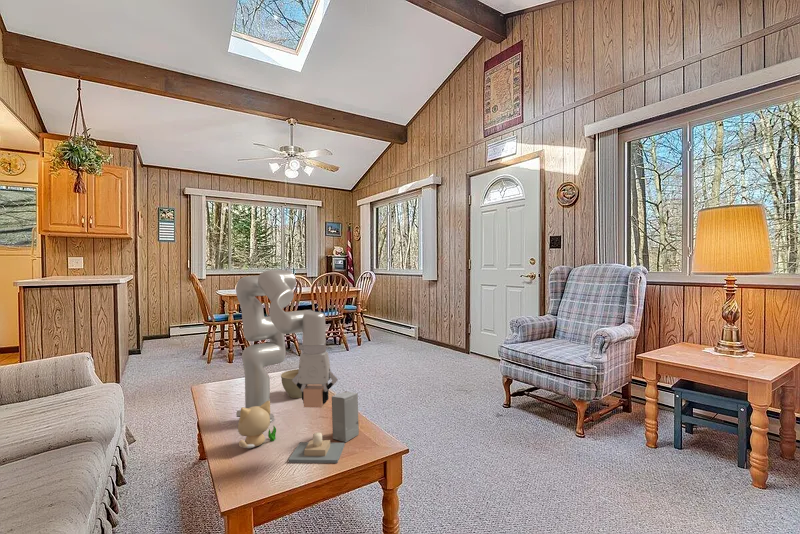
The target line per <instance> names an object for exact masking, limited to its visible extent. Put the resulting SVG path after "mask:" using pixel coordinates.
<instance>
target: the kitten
mask: <svg viewBox="0 0 800 534" xmlns="http://www.w3.org/2000/svg"><path fill="white" fill-rule="evenodd" d="M240 410H241V412H240V417H238V423H237V432H238V434H239V435H240V436H242V437H245V440H244V439H241V440H239V442H238V446H239V447H240V448H244V449H252V448H255V447H259V446H261V445H262V444H264V443H265V441H266V437H265V435H264V432H265V431H267V430H268V435H267V437H268V439H269V440H270V441H269V442H274V441H276V433H277V429H276V426H275V425H274V424H273V430H272V431H271V428H270V424H271V423H270V413H271V400H270V401H266V402H265V403H264V404H262V405H261V406H254V407H250V408H245V407H241V408H240ZM265 433H266V432H265Z"/></svg>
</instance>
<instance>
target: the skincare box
mask: <svg viewBox="0 0 800 534" xmlns="http://www.w3.org/2000/svg"><path fill="white" fill-rule="evenodd" d="M358 394H359V393H358V392H354V391H353V392H352V391H348V390H347V391H345V390H344V391H342V392H339V393H337V394H335V395H332V396H331V414H332V415H331V419H332V420H331V421H332V427H331V428H332V439H333V440H334V441H335V440H336V441H339V442H341V443H345V444H346V443H347V442H349V441H351V440H352V439H353V438H355V437H357V436H359V434H360V433H359V432H360V431H359V395H358Z"/></svg>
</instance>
